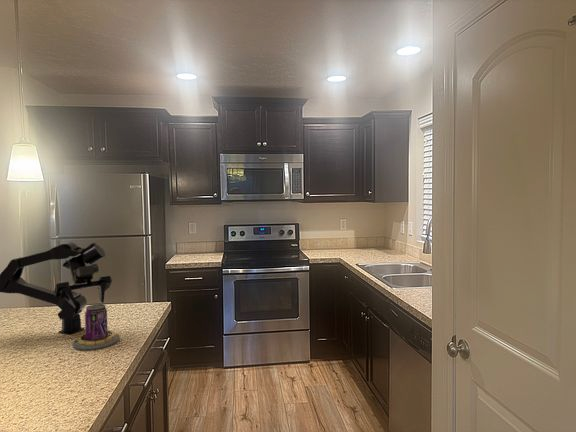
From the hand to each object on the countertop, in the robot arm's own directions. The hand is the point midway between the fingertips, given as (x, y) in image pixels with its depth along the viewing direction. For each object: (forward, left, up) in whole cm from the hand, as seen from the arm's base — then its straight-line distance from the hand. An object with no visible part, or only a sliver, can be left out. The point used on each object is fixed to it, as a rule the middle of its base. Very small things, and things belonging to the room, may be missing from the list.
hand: (89, 304), depth 140 cm
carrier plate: (+4, -1, -13) cm, 14 cm away
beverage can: (+4, -1, -12) cm, 13 cm away
